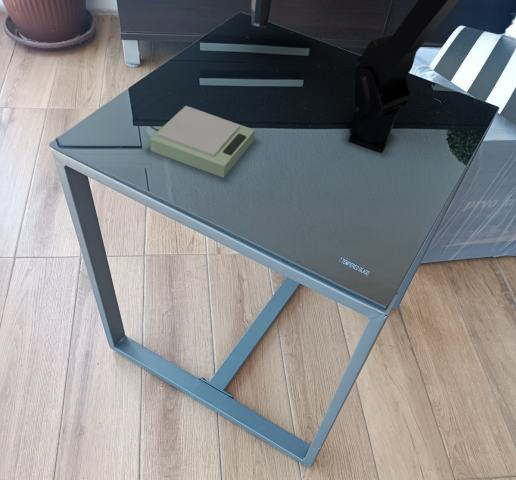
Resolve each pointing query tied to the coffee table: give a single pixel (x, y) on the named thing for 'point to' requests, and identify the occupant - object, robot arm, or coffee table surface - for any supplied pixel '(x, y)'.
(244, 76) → the coffee table surface
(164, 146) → the scale
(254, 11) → the milkshake
